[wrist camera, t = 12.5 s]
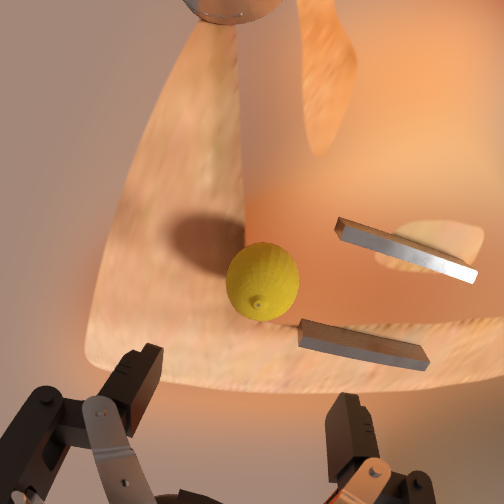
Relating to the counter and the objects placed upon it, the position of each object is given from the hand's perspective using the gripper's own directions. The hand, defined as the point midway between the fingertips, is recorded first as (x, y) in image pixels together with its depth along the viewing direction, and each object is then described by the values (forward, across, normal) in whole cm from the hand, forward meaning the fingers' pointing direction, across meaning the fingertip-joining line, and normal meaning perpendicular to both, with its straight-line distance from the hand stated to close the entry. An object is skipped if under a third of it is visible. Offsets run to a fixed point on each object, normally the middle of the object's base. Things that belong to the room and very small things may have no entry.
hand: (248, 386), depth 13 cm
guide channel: (+16, -12, +1) cm, 20 cm away
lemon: (+16, 0, +1) cm, 16 cm away
